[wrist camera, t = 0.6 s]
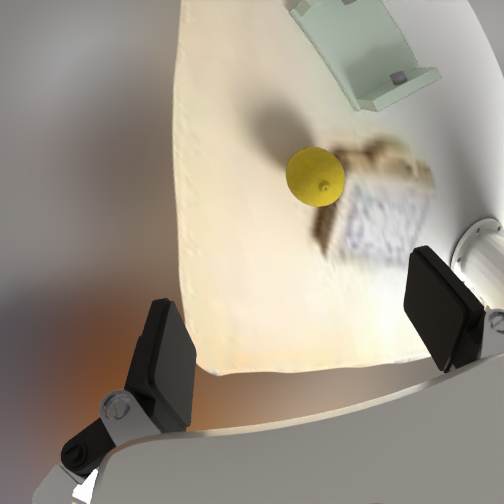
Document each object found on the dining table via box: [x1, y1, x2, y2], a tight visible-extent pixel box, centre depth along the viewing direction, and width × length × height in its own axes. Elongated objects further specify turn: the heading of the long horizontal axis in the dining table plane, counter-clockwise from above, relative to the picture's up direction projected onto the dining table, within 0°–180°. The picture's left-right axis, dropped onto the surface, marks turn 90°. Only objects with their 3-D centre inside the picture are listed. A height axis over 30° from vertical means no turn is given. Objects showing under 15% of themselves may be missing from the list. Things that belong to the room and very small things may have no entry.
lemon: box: [286, 147, 345, 207], centre depth 28 cm, size 6×6×8 cm
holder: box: [289, 0, 441, 112], centre depth 22 cm, size 13×10×5 cm
